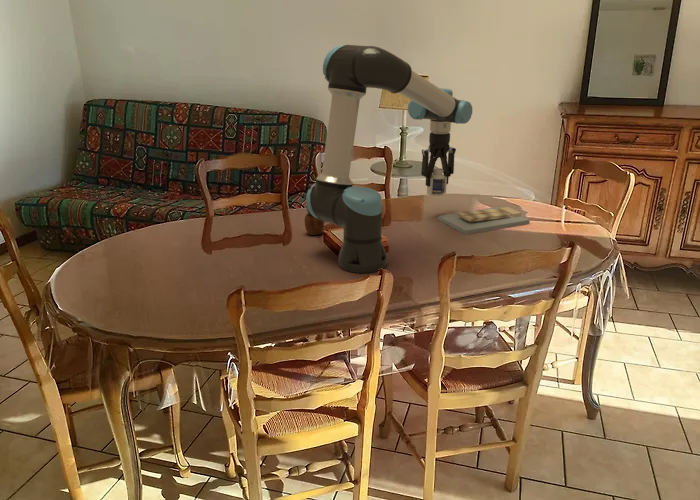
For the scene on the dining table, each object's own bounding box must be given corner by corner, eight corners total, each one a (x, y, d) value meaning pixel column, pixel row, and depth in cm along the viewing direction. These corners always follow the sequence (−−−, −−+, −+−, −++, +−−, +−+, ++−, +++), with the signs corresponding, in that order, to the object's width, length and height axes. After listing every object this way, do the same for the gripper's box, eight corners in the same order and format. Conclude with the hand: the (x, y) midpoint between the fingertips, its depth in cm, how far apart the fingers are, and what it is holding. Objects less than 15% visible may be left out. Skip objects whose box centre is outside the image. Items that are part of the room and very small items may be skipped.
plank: (469, 221, 213) (469, 218, 213) (457, 215, 220) (457, 212, 219) (510, 217, 220) (510, 214, 220) (496, 211, 227) (497, 208, 226)
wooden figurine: (325, 231, 212) (324, 191, 207) (323, 236, 207) (321, 195, 201) (306, 230, 213) (305, 190, 207) (304, 236, 207) (302, 195, 202)
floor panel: (465, 234, 208) (465, 227, 207) (438, 219, 223) (438, 212, 222) (529, 223, 218) (529, 216, 217) (499, 210, 234) (499, 203, 233)
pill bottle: (444, 196, 222) (446, 170, 219) (430, 196, 222) (431, 170, 219) (442, 192, 227) (444, 167, 224) (428, 192, 227) (430, 167, 224)
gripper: (423, 135, 210) (420, 198, 218) (466, 132, 217) (462, 193, 225) (413, 132, 216) (410, 193, 224) (455, 129, 223) (451, 188, 231)
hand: (436, 193), depth 225 cm, fingers closed on pill bottle, 5 cm apart
